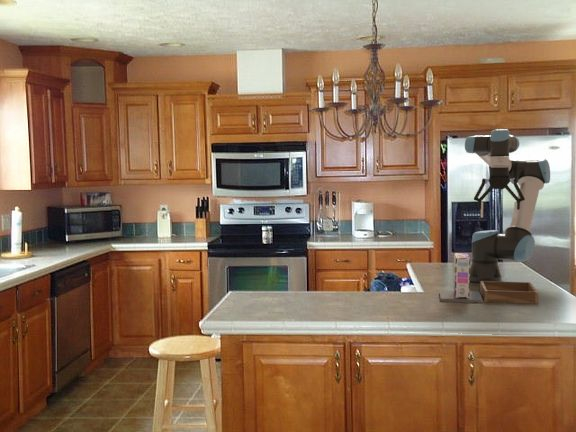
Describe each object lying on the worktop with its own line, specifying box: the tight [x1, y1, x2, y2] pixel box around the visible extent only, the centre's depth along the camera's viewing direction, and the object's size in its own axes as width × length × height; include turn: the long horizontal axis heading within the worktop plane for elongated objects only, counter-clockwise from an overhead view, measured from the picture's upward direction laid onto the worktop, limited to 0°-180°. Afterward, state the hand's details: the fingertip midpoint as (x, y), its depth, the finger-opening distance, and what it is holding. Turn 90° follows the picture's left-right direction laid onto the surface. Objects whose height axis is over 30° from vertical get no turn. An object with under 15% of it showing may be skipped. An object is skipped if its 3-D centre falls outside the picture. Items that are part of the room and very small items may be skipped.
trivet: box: [439, 289, 483, 304], centre depth 265 cm, size 16×16×1 cm
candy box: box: [453, 252, 471, 298], centre depth 264 cm, size 14×6×16 cm, turn 168°
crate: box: [479, 281, 539, 304], centre depth 265 cm, size 20×20×4 cm
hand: (498, 217), depth 274 cm, fingers open, 13 cm apart
